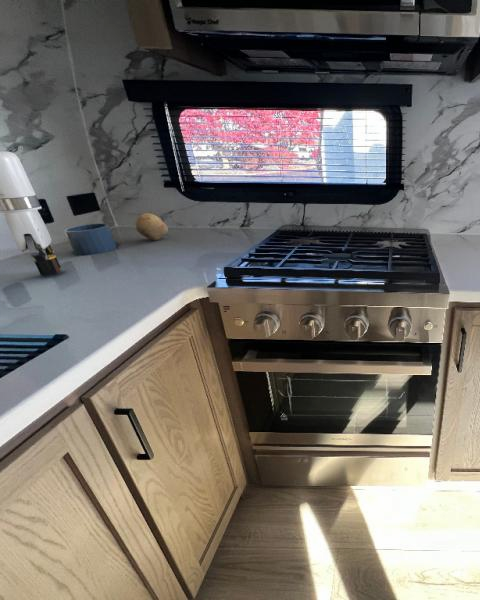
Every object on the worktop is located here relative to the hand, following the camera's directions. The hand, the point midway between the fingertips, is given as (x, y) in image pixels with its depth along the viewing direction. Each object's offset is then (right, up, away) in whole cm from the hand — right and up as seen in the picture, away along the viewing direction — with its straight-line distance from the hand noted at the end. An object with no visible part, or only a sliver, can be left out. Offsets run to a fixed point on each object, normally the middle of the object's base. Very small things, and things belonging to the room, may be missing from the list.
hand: (51, 271), depth 92 cm
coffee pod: (0, 0, 0) cm, 0 cm away
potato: (+5, +14, +33) cm, 36 cm away
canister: (-8, +9, +22) cm, 26 cm away
